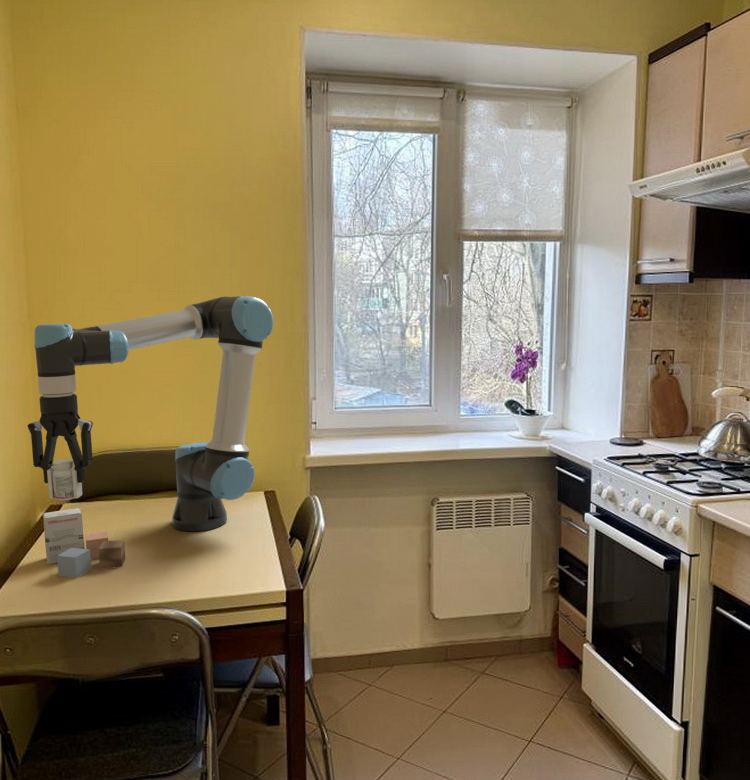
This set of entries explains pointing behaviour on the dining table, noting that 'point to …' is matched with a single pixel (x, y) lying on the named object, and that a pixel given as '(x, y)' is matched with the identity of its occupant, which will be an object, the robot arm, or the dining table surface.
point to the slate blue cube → (74, 562)
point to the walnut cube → (112, 554)
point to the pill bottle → (63, 480)
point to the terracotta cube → (95, 543)
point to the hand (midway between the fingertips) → (66, 496)
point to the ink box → (62, 532)
